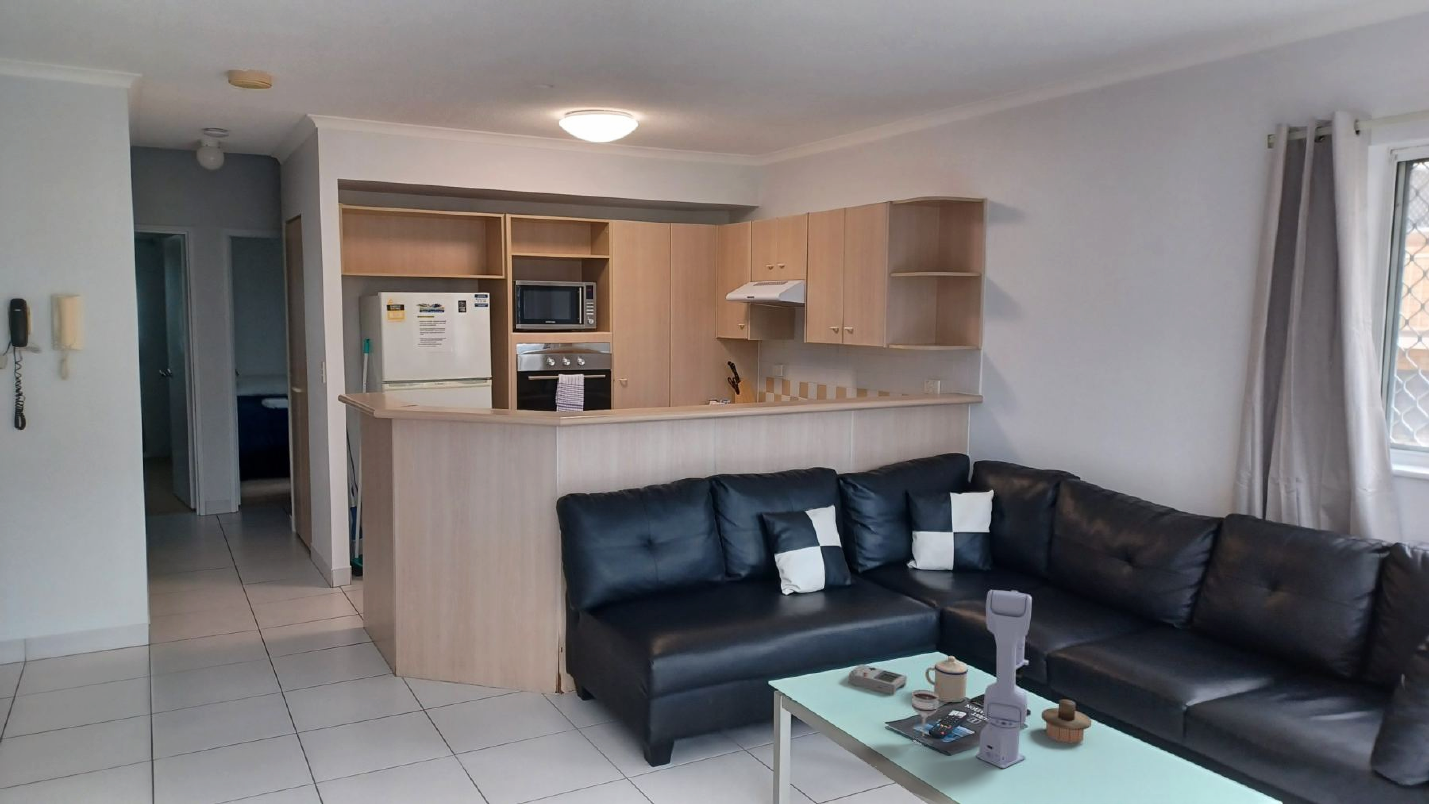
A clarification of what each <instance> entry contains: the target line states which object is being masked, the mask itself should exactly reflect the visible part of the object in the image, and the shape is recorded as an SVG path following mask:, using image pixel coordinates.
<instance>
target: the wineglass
mask: <svg viewBox="0 0 1429 804" xmlns="http://www.w3.org/2000/svg"><path fill="white" fill-rule="evenodd" d="M911 695H912V697H911V699H910V700H911V701H910V704H911V707H912V709H913V711H914V712H915V713H916V714H918V715H920V716H921V718H922V737H923V736H924V737H925V731H926V720H927V718H928V717H929V716H933V715H934V714H935V713H936V712H937V711H938V709H939V704H940V702H939V700H938V698H939V695H938V694H937V693H935V692H934V690H933V691H932V690H927V689H916V690H913V691H911ZM912 741H913V743H915V744H916V745H919V746H924V745H922V744H921V743H919V742H917V741H916V740H913V739H912ZM924 747H925V746H924Z"/></svg>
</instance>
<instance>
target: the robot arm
mask: <svg viewBox="0 0 1429 804" xmlns="http://www.w3.org/2000/svg"><path fill="white" fill-rule="evenodd" d="M1032 603H1033V597H1032V596H1031V594H1027V593H1022V592H1019V591H1018V590H1011V591H1008V590H997V589H989V591H987V595H986V604H985V624H986V629H987V630H988V631H989V632H990V633H992V635H994V640H995V644H996V679H995V680H996V681H995V682H993V683H990V684H988V685H987V686H986V688H985V691H984V694H985V698H984V708H983V707H982V710H983V715H984V717H985V718H987V724H986V726H985V727H984V728H982V729H981V731H980V734H979V747H978V748H979V749H978V753H976V754H975V757H976V758H978V759H981V760H983V761H985V762H986V763H987V762H988V763H990V764H992V765H994V766H997V767H998V768H1001V769H1006V768H1008V767H1010V766H1012V765H1014V764H1016V763H1019V762H1021V761H1023V760H1025V759H1026V755H1024V754H1021V753H1019V752H1020V751H1019V749H1020V733H1021V725H1023V724H1024V725H1025V723H1026V721H1027V716H1026V714H1027V709H1028V699H1027V698H1028V697H1027V696H1028V695H1027V692H1026V691H1025V690H1024V689H1022V688H1021V687H1020V686H1018V684H1019V683H1020V681H1021V679H1022V677H1023V675H1022V674H1020V673H1021V671H1022V669H1023V667H1024V666H1029V660H1028V659H1025V646H1026V645H1025V643H1026V636H1028V631H1030V622H1031V617H1032Z"/></svg>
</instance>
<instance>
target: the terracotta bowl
mask: <svg viewBox="0 0 1429 804" xmlns="http://www.w3.org/2000/svg"><path fill="white" fill-rule="evenodd" d="M1045 723H1046V725H1045V726H1046V727H1045V733H1046V735H1047V736H1048V737H1049V736H1050V738H1051V739H1053V740H1056V741H1058V740H1059V741H1058V742H1061V743H1062V742H1063V743H1073V744H1074V743H1079V742H1081V740H1082V741H1083V740H1084V732H1085V729H1083V730H1068V729H1062V728H1059V727H1055V726H1053V725H1050V724H1048V723H1047V722H1045Z"/></svg>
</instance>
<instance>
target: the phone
mask: <svg viewBox="0 0 1429 804" xmlns="http://www.w3.org/2000/svg"><path fill="white" fill-rule="evenodd" d="M984 698H985V693H983V694H980V695H977V696H973V697H971V698H970V702H971V701H972V702H977V703H979V704H981V705H984ZM1031 714H1032V711H1031V710H1030V709H1028V708H1027V714H1026V717H1028V716H1031Z"/></svg>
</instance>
